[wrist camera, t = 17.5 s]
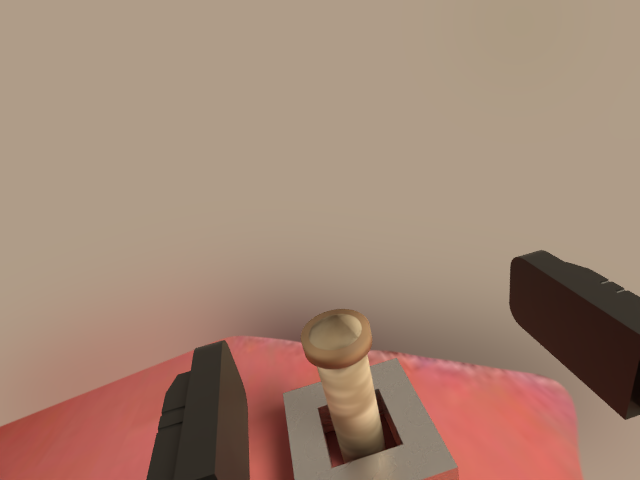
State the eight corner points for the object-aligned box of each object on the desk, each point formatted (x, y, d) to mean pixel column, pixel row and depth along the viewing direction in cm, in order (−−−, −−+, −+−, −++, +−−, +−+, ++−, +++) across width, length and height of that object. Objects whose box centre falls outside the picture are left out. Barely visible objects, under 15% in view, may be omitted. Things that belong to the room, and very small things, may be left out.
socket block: (310, 548, 28) (300, 521, 27) (291, 417, 39) (282, 393, 37) (460, 495, 29) (457, 467, 28) (400, 382, 40) (396, 358, 38)
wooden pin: (344, 489, 31) (307, 365, 25) (330, 436, 36) (296, 320, 30) (402, 469, 32) (379, 342, 26) (381, 419, 36) (358, 302, 31)
